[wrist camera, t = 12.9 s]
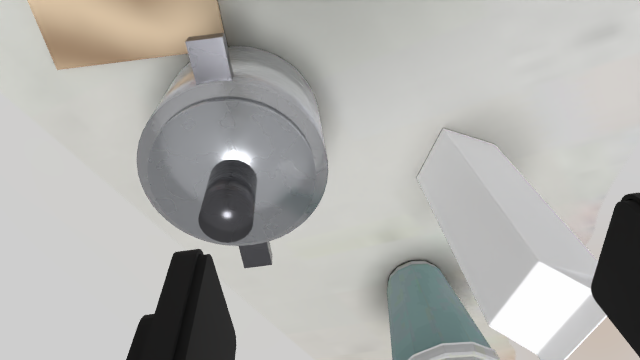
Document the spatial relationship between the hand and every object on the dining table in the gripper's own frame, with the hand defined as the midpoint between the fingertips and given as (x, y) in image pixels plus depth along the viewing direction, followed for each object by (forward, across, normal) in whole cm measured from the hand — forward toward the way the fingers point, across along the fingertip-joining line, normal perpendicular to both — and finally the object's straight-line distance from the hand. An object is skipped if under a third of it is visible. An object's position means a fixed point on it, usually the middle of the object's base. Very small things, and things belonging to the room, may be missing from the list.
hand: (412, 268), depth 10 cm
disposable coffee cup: (+31, -8, +32) cm, 45 cm away
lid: (+21, +8, +9) cm, 24 cm away
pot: (+30, +8, +9) cm, 33 cm away
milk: (+31, -12, +16) cm, 36 cm away
